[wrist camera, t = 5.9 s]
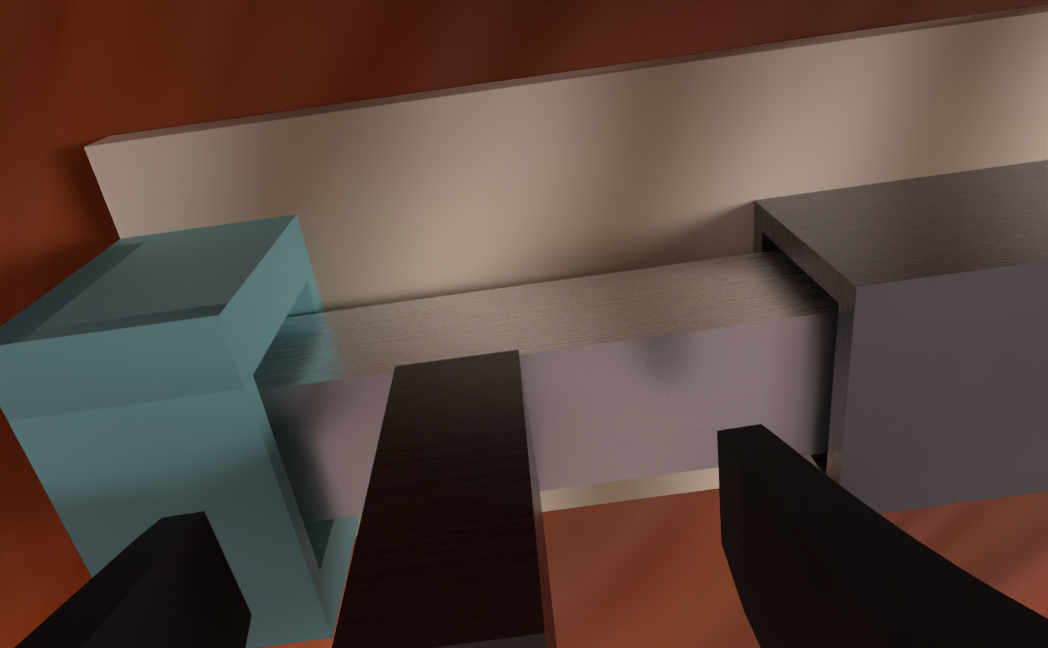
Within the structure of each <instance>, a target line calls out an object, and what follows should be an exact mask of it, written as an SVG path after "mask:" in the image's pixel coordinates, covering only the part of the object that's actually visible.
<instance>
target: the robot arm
mask: <svg viewBox="0 0 1048 648" xmlns="http://www.w3.org/2000/svg"><path fill="white" fill-rule="evenodd" d="M717 446H718V470H719V493H720V517H721V541H722V546H723V549H724V552H725V555H726V558H727V561H728V564H729V567H730V571H731V574H732V577H733V580H734V583H735V586H736V589H737V592H738V594H739V597H740V600H741V603H742V606H743V609H744V612H745V614H746V616H747V619H748V621H749V623H750V625H751V627H752V630H753V632H754V634H755V636H756V638H757V640H758V643H759V645H760V647H761V648H1048V619H1047V618H1045V617H1044V616H1042V615H1040V614H1038V613H1036V612H1035V611H1033V610H1031V609H1029V608H1028V607H1026V606H1024V605H1022V604H1020V603H1019V602H1017V601H1015V600H1013V599H1012V598H1010V597H1008V596H1006V595H1004V594H1003V593H1001V592H999V591H997V590H996V589H994V588H992V587H991V586H989V585H987V584H986V583H984V582H982V581H981V580H979V579H977V578H976V577H974V576H972V575H971V574H969V573H967V572H966V571H964V570H962V569H961V568H959V567H958V566H956V565H955V564H953V563H952V562H950V561H949V560H947V559H945V558H944V557H942V556H941V555H939V554H938V553H936V552H935V551H933V550H931V549H930V548H928V547H927V546H925V545H924V544H922V543H921V542H919V541H918V540H916V539H914V538H913V537H912V536H910V535H909V534H907V533H906V532H904V531H903V530H901V529H900V528H898V527H897V526H895V525H894V524H893V523H891V522H890V521H889V520H887V519H886V518H884V517H883V516H882V515H880V514H879V513H877V512H876V511H875V510H873V509H872V508H871V507H869V506H868V505H866V504H865V503H864V502H862V501H861V500H859V499H858V498H857V497H855V496H854V495H853V494H851V493H850V492H849V491H847V490H846V489H845V488H843V487H842V486H841V485H839V484H838V483H837V482H835V481H834V480H833V479H831V478H830V477H829V476H828V475H826V474H825V473H824V472H822V471H821V470H820V469H819V468H817V467H816V466H815V465H813V464H812V463H811V462H810V461H808V460H807V459H806V458H804V457H803V456H802V455H801V454H799V453H798V452H797V451H796V450H794V449H793V448H792V447H791V446H789V445H788V444H787V443H785V442H784V441H783V440H782V439H780V438H779V437H778V436H777V435H775V434H774V433H773V432H771V431H770V430H769V429H767V428H766V427H765V426H763V425H762V424H757V425H750V426H744V427H738V428H731V429H725V430H719V431H717ZM251 616H252V614H251V612H250V610H249V607H248V605H247V603H246V601H245V599H244V596H243V594H242V592H241V590H240V588H239V586H238V583H237V581H236V579H235V577H234V575H233V572H232V570H231V568H230V566H229V564H228V561H227V559H226V557H225V555H224V553H223V551H222V548H221V546H220V544H219V542H218V540H217V537H216V535H215V533H214V531H213V529H212V527H211V524H210V522H209V520H208V518H207V516H206V513H205V511H201V512H195V513H188V514H182V515H176V516H169V517H163V518H161V519H160V520H158V521H157V522H156V523H155V524H153V525H152V526H151V527H150V528H148V529H147V530H146V531H145V532H143V533H142V534H141V535H140V536H139V537H138V538H136V539H135V540H134V541H133V542H132V543H131V544H129V545H128V546H127V547H126V548H125V549H124V550H123V551H122V552H120V553H119V554H118V555H117V556H116V557H115V558H114V559H113V560H111V561H110V562H109V563H108V564H107V565H106V566H105V567H104V568H103V569H101V570H100V571H99V572H98V573H97V574H96V575H95V576H94V577H93V578H92V579H90V580H89V581H88V582H87V583H86V584H85V585H84V586H83V587H82V588H80V589H79V590H78V591H77V592H76V593H75V594H74V595H73V596H72V597H70V598H69V599H68V600H67V601H66V602H65V603H64V604H63V605H62V606H60V607H59V608H58V609H57V610H56V611H55V612H54V613H53V614H52V615H50V616H49V617H48V618H47V619H46V620H45V621H44V622H43V623H42V624H40V625H39V626H38V627H37V628H36V629H35V630H34V631H33V632H32V633H30V634H29V635H28V636H27V637H26V638H25V639H24V640H23V641H21V642H20V643H19V644H18V645H17V646H16V647H14V648H246V643H247V638H248V632H249V627H250V622H251Z"/></svg>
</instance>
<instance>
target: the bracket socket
mask: <svg viewBox="0 0 1048 648" xmlns="http://www.w3.org/2000/svg"><path fill="white" fill-rule="evenodd" d="M323 312H324V310H323V306H322V303H321V299H320V295H319V292H318V288H317V285H316V281H315V277H314V274H313V270H312V267H311V263H310V260H309V256H308V252H307V249H306V245H305V242H304V238H303V234H302V231H301V227H300V224H299V220H298V216H297V214H295V215H287V216H280V217H273V218H266V219H259V220H251V221H244V222H237V223H230V224H223V225H215V226H208V227H201V228H194V229H187V230H179V231H172V232H165V233H158V234H151V235H143V236H136V237H129V238H122V239H119V240H118V241H117V242H115V243H114V244H112V245H111V246H110V247H108V248H107V249H106V250H104V251H103V252H102V253H100V254H99V255H97V256H96V257H95V258H93V259H92V260H91V261H89V262H88V263H87V264H85V265H84V266H83V267H81V268H80V269H78V270H77V271H76V272H74V273H73V274H72V275H70V276H69V277H68V278H66V279H65V280H63V281H62V282H61V283H59V284H58V285H57V286H55V287H54V288H53V289H51V290H50V291H48V292H47V293H46V294H44V295H43V296H42V297H40V298H39V299H38V300H36V301H35V302H33V303H32V304H31V305H29V306H28V307H27V308H25V309H24V310H23V311H21V312H20V313H18V314H17V315H16V316H14V317H13V318H12V319H10V320H9V321H8V322H6V323H5V324H3V325H2V326H1V327H0V407H1V409H2V411H3V413H4V415H5V417H6V419H7V420H8V422H9V424H10V426H11V428H12V430H13V432H14V433H15V435H16V437H17V439H18V441H19V443H20V445H21V446H22V448H23V450H24V452H25V454H26V456H27V458H28V459H29V461H30V463H31V465H32V467H33V469H34V471H35V473H36V474H37V476H38V478H39V480H40V482H41V484H42V486H43V487H44V489H45V491H46V493H47V495H48V497H49V499H50V500H51V502H52V504H53V506H54V508H55V510H56V512H57V513H58V515H59V517H60V519H61V521H62V523H63V525H64V526H65V528H66V530H67V532H68V534H69V536H70V538H71V540H72V541H73V543H74V545H75V547H76V549H77V551H78V553H79V554H80V556H81V558H82V560H83V562H84V564H85V566H86V567H87V569H88V571H89V573H90V575H91V577H92V578H93V577H94V576H95V575H96V574H97V573H98V572H99V571H100V570H101V569H103V568H104V567H105V566H106V565H107V564H108V563H109V562H110V561H111V560H113V559H114V558H115V557H116V556H117V555H118V554H119V553H120V552H122V551H123V550H124V549H125V548H126V547H127V546H128V545H129V544H131V543H132V542H133V541H134V540H135V539H136V538H138V537H139V536H140V535H141V534H142V533H143V532H145V531H146V530H147V529H148V528H150V527H151V526H152V525H153V524H155V523H156V522H157V521H158V520H160V519H161V518H163V517H169V516H176V515H182V514H188V513H195V512H201V511H205V513H206V516H207V518H208V520H209V522H210V524H211V527H212V529H213V531H214V533H215V535H216V537H217V540H218V542H219V544H220V546H221V548H222V551H223V553H224V555H225V557H226V559H227V561H228V564H229V566H230V568H231V570H232V572H233V575H234V577H235V579H236V581H237V583H238V586H239V588H240V590H241V592H242V594H243V596H244V599H245V601H246V603H247V605H248V607H249V610H250V612H251V614H252V616H251V622H250V627H249V632H248V638H247V643H246V648H258V647H265V646H273V645H280V644H288V643H295V642H303V641H310V640H318V639H326V638H332V637H333V633H334V629H335V624H336V620H337V615H338V611H339V607H340V602H341V598H342V593H343V589H344V585H345V580H346V576H347V571H348V567H349V562H350V558H351V554H352V549H353V545H354V540H355V536H356V532H357V527H358V523H359V518H360V516H353V517H345V518H338V519H330V520H323V521H315V522H308V523H303V520H302V517H301V514H300V511H299V508H298V505H297V502H296V499H295V497H294V494H293V491H292V488H291V485H290V482H289V479H288V476H287V473H286V470H285V467H284V464H283V462H282V459H281V456H280V453H279V450H278V447H277V444H276V441H275V438H274V435H273V432H272V429H271V427H270V424H269V421H268V418H267V415H266V412H265V409H264V406H263V403H262V400H261V397H260V394H259V391H258V389H257V386H256V383H255V380H254V377H253V374H254V372H255V371H256V369H257V367H258V365H259V364H260V362H261V360H262V358H263V357H264V355H265V353H266V351H267V350H268V348H269V346H270V344H271V343H272V341H273V339H274V337H275V336H276V334H277V332H278V330H279V329H280V327H281V325H282V323H283V322H284V320H285V318H287V317H294V316H301V315H309V314H316V313H323Z"/></svg>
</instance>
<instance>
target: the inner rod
mask: <svg viewBox="0 0 1048 648" xmlns="http://www.w3.org/2000/svg"><path fill="white" fill-rule="evenodd" d="M838 310H839V303H838V302H837V301H836V300H835V299H834V298H833V297H832V296H830V295H829V294H828V293H827V292H826V291H825V290H824V289H823V288H822V287H821V286H820V285H819V284H818V283H816V282H815V281H814V280H813V279H812V278H811V277H810V276H809V275H808V274H807V273H806V272H805V271H804V270H803V269H801V268H800V267H799V266H798V265H797V264H796V263H795V262H794V261H793V260H792V259H791V258H790V257H789V256H788V255H786V254H785V253H784V252H783V251H782V250H775V251H767V252H760V253H753V254H746V255H738V256H731V257H724V258H716V259H709V260H702V261H695V262H687V263H680V264H673V265H665V266H658V267H651V268H644V269H636V270H629V271H622V272H614V273H607V274H600V275H593V276H585V277H578V278H571V279H563V280H556V281H549V282H542V283H534V284H527V285H520V286H513V287H505V288H498V289H491V290H483V291H476V292H469V293H462V294H454V295H447V296H440V297H432V298H425V299H418V300H411V301H403V302H396V303H389V304H381V305H374V306H367V307H360V308H352V309H345V310H338V311H330V312H323V313H316V314H309V315H301V316H294V317H287V318H285V320H284V322H283V323H282V325H281V327H280V329H279V330H278V332H277V334H276V336H275V337H274V339H273V341H272V343H271V344H270V346H269V348H268V350H267V351H266V353H265V355H264V357H263V358H262V360H261V362H260V364H259V365H258V367H257V369H256V371H255V372H254V374H253V377H254V380H255V383H256V386H257V389H258V391H259V394H260V397H261V400H262V403H263V406H264V409H265V412H266V415H267V418H268V421H269V424H270V427H271V429H272V432H273V435H274V438H275V441H276V444H277V447H278V450H279V453H280V456H281V459H282V462H283V464H284V467H285V470H286V473H287V476H288V479H289V482H290V485H291V488H292V491H293V494H294V497H295V499H296V502H297V505H298V508H299V511H300V514H301V517H302V520H303V523H308V522H315V521H323V520H330V519H338V518H345V517H353V516H360V515H362V516H361V521H360V525H359V529H358V534H357V538H356V543H355V547H354V552H353V556H352V561H351V565H350V570H349V574H348V578H347V583H346V587H345V592H344V596H343V601H342V605H341V610H340V614H339V619H338V623H337V627H336V632H335V636H334V641H333V645H332V648H557V646H556V636H555V627H554V618H553V609H552V599H551V590H550V581H549V572H548V563H547V553H546V544H545V535H544V526H543V516H542V507H541V498H540V491H546V490H554V489H561V488H569V487H576V486H584V485H591V484H599V483H606V482H613V481H621V480H628V479H636V478H643V477H651V476H658V475H666V474H673V473H681V472H688V471H695V470H703V469H710V468H718V446H717V431H719V430H725V429H731V428H738V427H744V426H750V425H757V424H762V425H763V426H765V427H766V428H767V429H769V430H770V431H771V432H773V433H774V434H775V435H777V436H778V437H779V438H780V439H782V440H783V441H784V442H785V443H787V444H788V445H789V446H791V447H792V448H793V449H794V450H796V451H797V452H798V453H799V454H801V455H802V456H807V455H815V454H822V453H828V442H829V429H830V416H831V402H832V389H833V376H834V363H835V350H836V336H837V323H838Z"/></svg>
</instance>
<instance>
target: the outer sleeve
mask: <svg viewBox="0 0 1048 648" xmlns="http://www.w3.org/2000/svg"><path fill="white" fill-rule="evenodd" d="M775 250H782V251H783V252H784V253H785V254H786V255H788V256H789V257H790V258H791V259H792V260H793V261H794V262H795V263H796V264H797V265H798V266H799V267H800V268H801V269H803V270H804V271H805V272H806V273H807V274H808V275H809V276H810V277H811V278H812V279H813V280H814V281H815V282H816V283H818V284H819V285H820V286H821V287H822V288H823V289H824V290H825V291H826V292H827V293H828V294H829V295H830V296H832V297H833V298H834V299H835V300H836V301H837V302H838V303H839V310H838V323H837V336H836V350H835V363H834V376H833V389H832V402H831V416H830V429H829V442H828V453H822V454H815V455H807V456H803V457H804V458H806V459H807V460H808V461H810V462H811V463H812V464H813V465H815V466H816V467H817V468H819V469H820V470H821V471H822V472H824V473H825V474H826V475H828V476H829V477H830V478H831V479H833V480H834V481H835V482H837V483H838V484H839V485H841V486H842V487H843V488H845V489H846V490H847V491H849V492H850V493H851V494H853V495H854V496H855V497H857V498H858V499H859V500H861V501H862V502H864V503H865V504H866V505H868V506H869V507H871V508H872V509H873V510H875V511H876V512H877V513H879V514H880V513H887V512H895V511H902V510H910V509H917V508H925V507H932V506H940V505H947V504H955V503H962V502H970V501H978V500H985V499H993V498H1000V497H1008V496H1015V495H1023V494H1030V493H1038V492H1045V491H1048V160H1042V161H1035V162H1028V163H1020V164H1013V165H1006V166H999V167H991V168H984V169H977V170H970V171H962V172H955V173H948V174H941V175H934V176H926V177H919V178H912V179H905V180H897V181H890V182H883V183H876V184H868V185H861V186H854V187H847V188H839V189H832V190H825V191H818V192H810V193H803V194H796V195H789V196H781V197H774V198H767V199H760V200H754V238H753V253H760V252H767V251H775Z"/></svg>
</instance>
